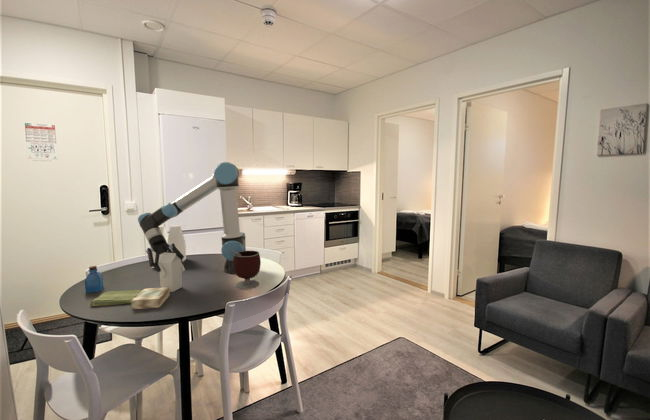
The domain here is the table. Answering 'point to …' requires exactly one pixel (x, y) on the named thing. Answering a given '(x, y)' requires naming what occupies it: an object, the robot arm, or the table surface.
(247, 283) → the dark red goblet
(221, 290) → the table surface
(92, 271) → the perfume bottle
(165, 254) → the milk carton
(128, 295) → the washcloth
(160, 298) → the beige book
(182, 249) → the white notched block
